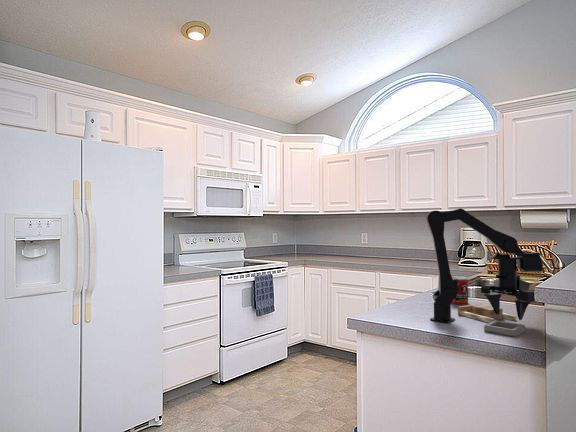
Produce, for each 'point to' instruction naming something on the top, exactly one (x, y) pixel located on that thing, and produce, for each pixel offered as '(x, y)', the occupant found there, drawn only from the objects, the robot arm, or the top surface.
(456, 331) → the top surface
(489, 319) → the wooden lane
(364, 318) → the top surface
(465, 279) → the canned food
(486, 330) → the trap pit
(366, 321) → the top surface
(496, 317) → the light brown wooden block
